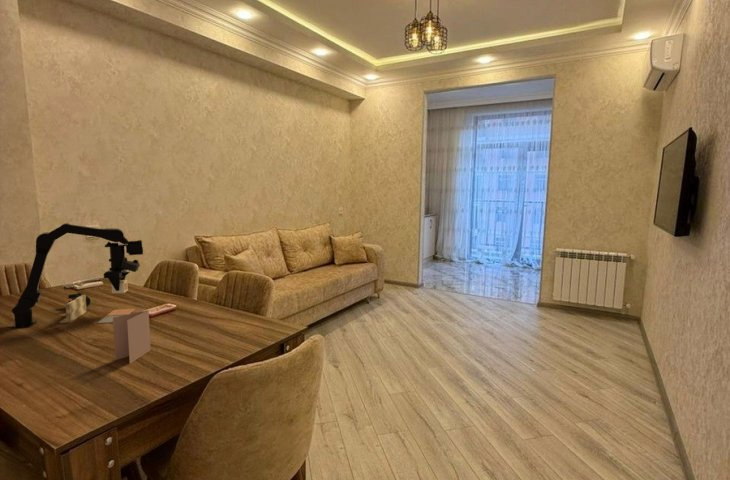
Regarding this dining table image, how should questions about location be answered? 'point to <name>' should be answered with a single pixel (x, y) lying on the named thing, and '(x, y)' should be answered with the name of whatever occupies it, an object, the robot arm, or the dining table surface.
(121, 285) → the marked cube
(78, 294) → the end cap
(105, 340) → the dining table surface
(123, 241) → the robot arm
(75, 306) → the beech screen
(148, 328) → the greeting card
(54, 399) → the dining table surface
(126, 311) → the terracotta tile
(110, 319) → the slate tile
